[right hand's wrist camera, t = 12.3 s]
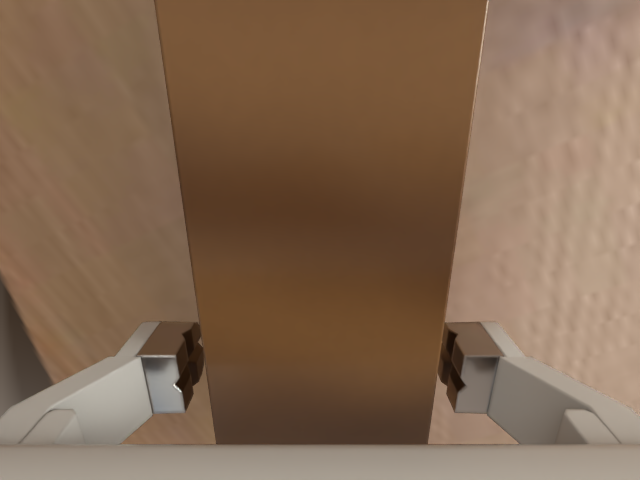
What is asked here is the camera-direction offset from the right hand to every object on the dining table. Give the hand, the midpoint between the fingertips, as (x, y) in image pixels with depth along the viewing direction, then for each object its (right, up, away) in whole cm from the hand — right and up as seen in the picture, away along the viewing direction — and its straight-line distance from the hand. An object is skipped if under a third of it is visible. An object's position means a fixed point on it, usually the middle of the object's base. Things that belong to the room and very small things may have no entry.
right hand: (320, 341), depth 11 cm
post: (0, +22, -4) cm, 22 cm away
